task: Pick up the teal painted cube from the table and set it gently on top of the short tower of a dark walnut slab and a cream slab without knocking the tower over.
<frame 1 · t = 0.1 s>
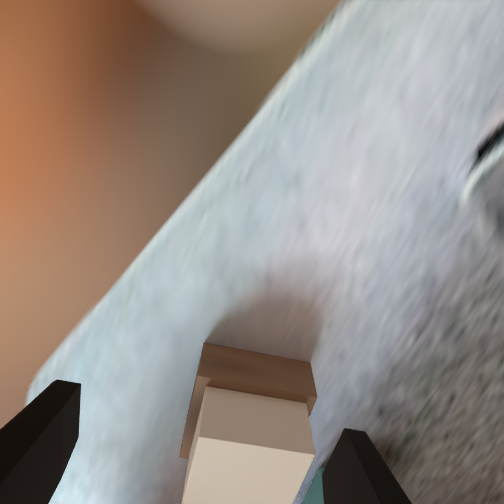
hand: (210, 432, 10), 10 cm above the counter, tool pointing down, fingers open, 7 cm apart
cream middle slab: (245, 429, 21), point 3 cm above the counter, touching walnut base slab
teal block: (339, 489, 27), on the counter
walnut base slab: (245, 388, 23), on the counter, touching cream middle slab
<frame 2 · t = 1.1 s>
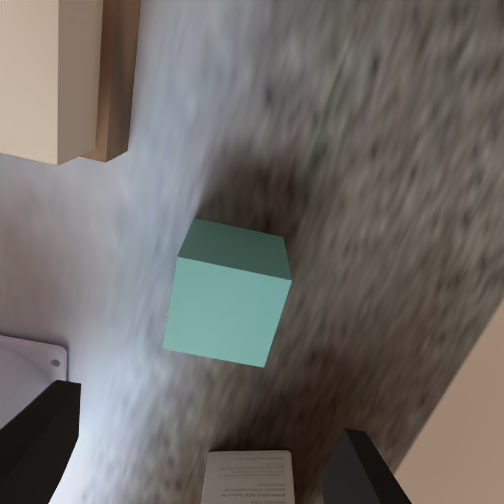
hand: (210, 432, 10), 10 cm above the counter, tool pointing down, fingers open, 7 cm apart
cream middle slab: (17, 49, 12), point 3 cm above the counter, touching walnut base slab
skincare box: (249, 481, 27), on the counter
teal block: (230, 266, 19), on the counter
walnut base slab: (57, 52, 15), on the counter, touching cream middle slab
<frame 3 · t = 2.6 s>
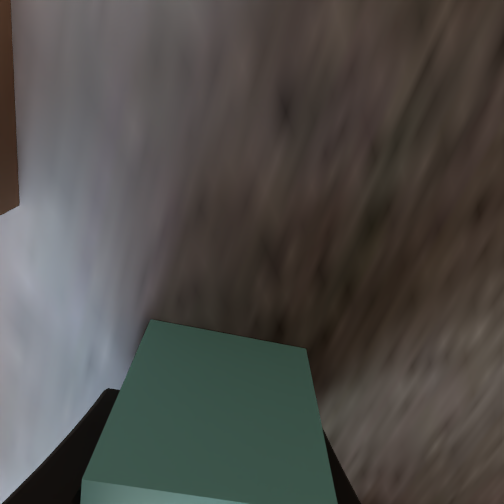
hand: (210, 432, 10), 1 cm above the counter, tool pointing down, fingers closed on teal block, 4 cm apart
teal block: (215, 391, 11), on the counter, touching gripper
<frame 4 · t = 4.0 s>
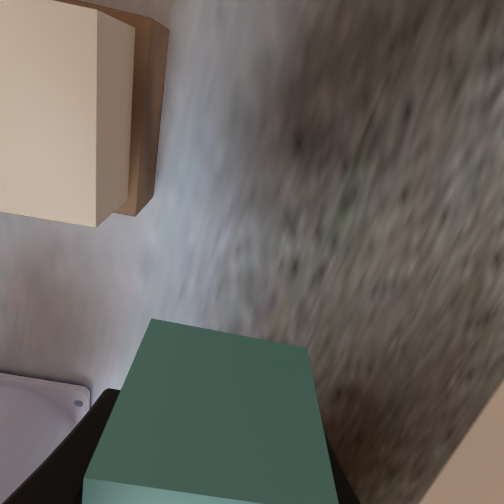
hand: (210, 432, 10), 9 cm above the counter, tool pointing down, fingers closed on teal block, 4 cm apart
cream middle slab: (47, 105, 12), point 3 cm above the counter, touching walnut base slab
teal block: (215, 391, 11), point 7 cm above the counter, touching gripper
walnut base slab: (82, 102, 15), on the counter, touching cream middle slab
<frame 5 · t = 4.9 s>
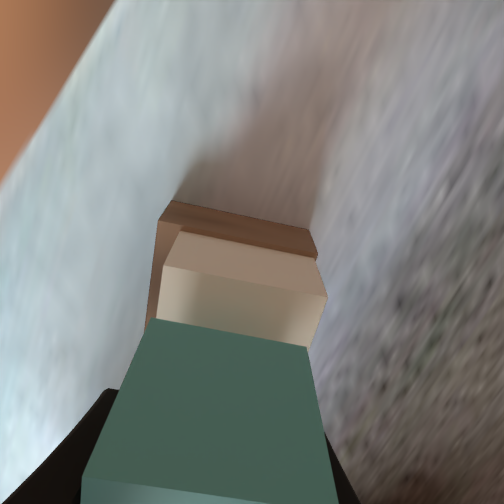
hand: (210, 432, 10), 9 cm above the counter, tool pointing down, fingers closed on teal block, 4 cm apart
cream middle slab: (234, 301, 16), point 3 cm above the counter, touching walnut base slab
teal block: (215, 390, 11), point 8 cm above the counter, touching gripper
walnut base slab: (228, 272, 19), on the counter, touching cream middle slab
when the fingers open (9 cm above the counter, at t = 5.3 s): teal block drops 2 cm, resting on cream middle slab.
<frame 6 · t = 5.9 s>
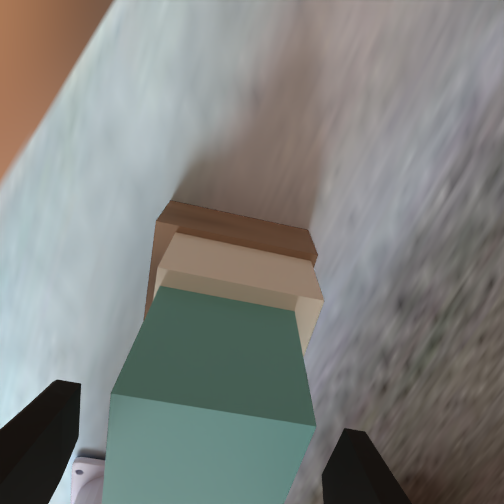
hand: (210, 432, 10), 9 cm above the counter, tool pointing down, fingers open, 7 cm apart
cream middle slab: (230, 303, 16), point 3 cm above the counter, touching teal block, walnut base slab
teal block: (216, 351, 13), point 6 cm above the counter, touching cream middle slab
walnut base slab: (227, 273, 18), on the counter, touching cream middle slab
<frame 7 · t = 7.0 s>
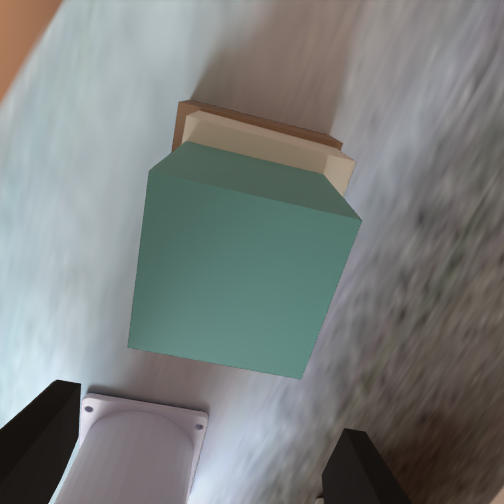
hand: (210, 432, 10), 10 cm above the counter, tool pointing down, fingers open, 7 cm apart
cream middle slab: (251, 196, 15), point 3 cm above the counter, touching teal block, walnut base slab
teal block: (240, 222, 12), point 6 cm above the counter, touching cream middle slab
walnut base slab: (244, 185, 18), on the counter, touching cream middle slab
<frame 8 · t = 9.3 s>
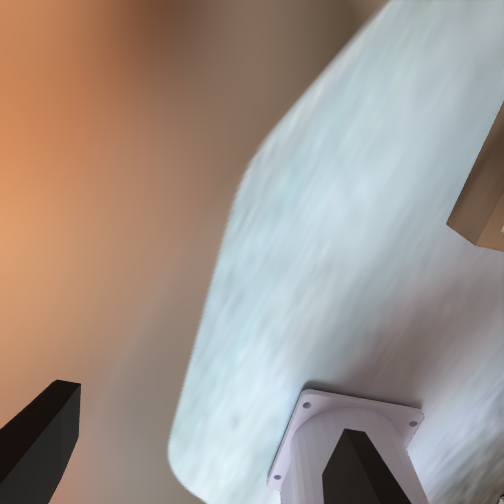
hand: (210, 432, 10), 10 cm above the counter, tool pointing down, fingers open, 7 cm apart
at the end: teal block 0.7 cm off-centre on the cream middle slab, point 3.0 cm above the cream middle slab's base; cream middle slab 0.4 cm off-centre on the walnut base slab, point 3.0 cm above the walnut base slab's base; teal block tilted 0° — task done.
